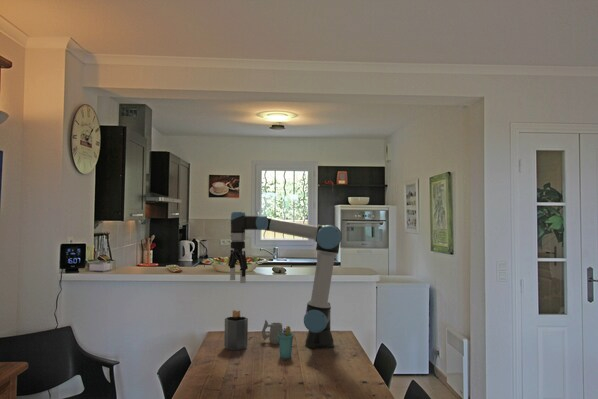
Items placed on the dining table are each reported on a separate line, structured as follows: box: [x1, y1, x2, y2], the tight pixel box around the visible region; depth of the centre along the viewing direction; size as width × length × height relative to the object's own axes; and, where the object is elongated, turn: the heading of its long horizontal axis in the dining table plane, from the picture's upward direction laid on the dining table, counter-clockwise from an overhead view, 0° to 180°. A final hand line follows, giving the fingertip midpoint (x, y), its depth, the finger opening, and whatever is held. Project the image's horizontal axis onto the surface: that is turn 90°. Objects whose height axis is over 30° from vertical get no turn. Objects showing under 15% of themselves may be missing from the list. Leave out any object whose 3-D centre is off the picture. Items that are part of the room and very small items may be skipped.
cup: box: [278, 325, 295, 359], centre depth 226 cm, size 14×8×15 cm, turn 174°
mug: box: [261, 319, 284, 345], centre depth 255 cm, size 8×12×12 cm, turn 98°
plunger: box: [232, 309, 241, 321], centre depth 243 cm, size 6×6×17 cm
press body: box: [223, 316, 249, 351], centre depth 244 cm, size 15×11×15 cm
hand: (237, 281), depth 244 cm, fingers open, 13 cm apart
